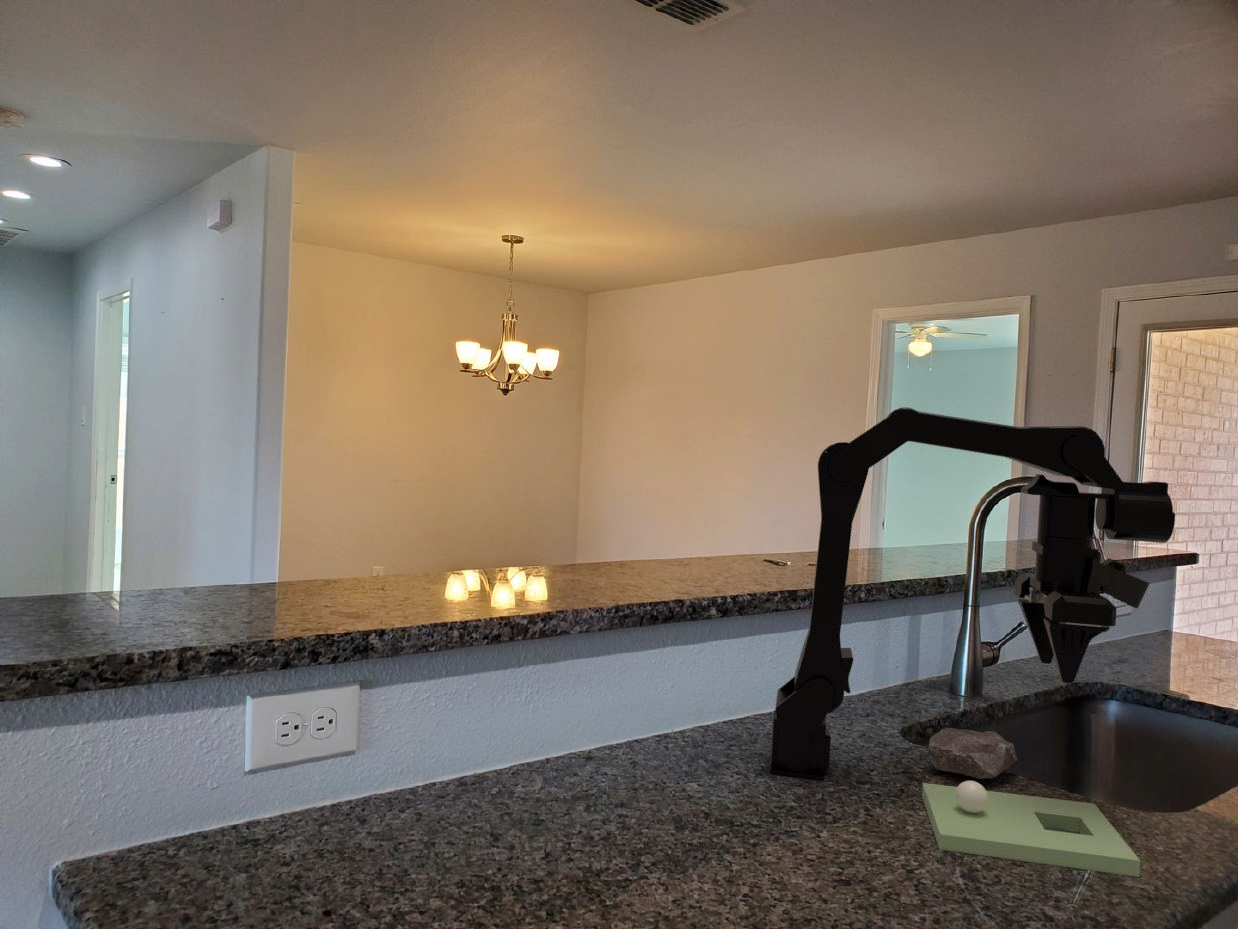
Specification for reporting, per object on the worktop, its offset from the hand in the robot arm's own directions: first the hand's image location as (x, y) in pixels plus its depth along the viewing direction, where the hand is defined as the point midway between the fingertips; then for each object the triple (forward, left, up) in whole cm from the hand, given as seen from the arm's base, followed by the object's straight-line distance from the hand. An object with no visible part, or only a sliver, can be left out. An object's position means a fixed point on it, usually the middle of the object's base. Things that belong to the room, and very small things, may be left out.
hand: (1056, 672), depth 103 cm
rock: (-4, +8, -16) cm, 18 cm away
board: (-5, -11, -15) cm, 19 cm away
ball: (-10, -11, -12) cm, 19 cm away
